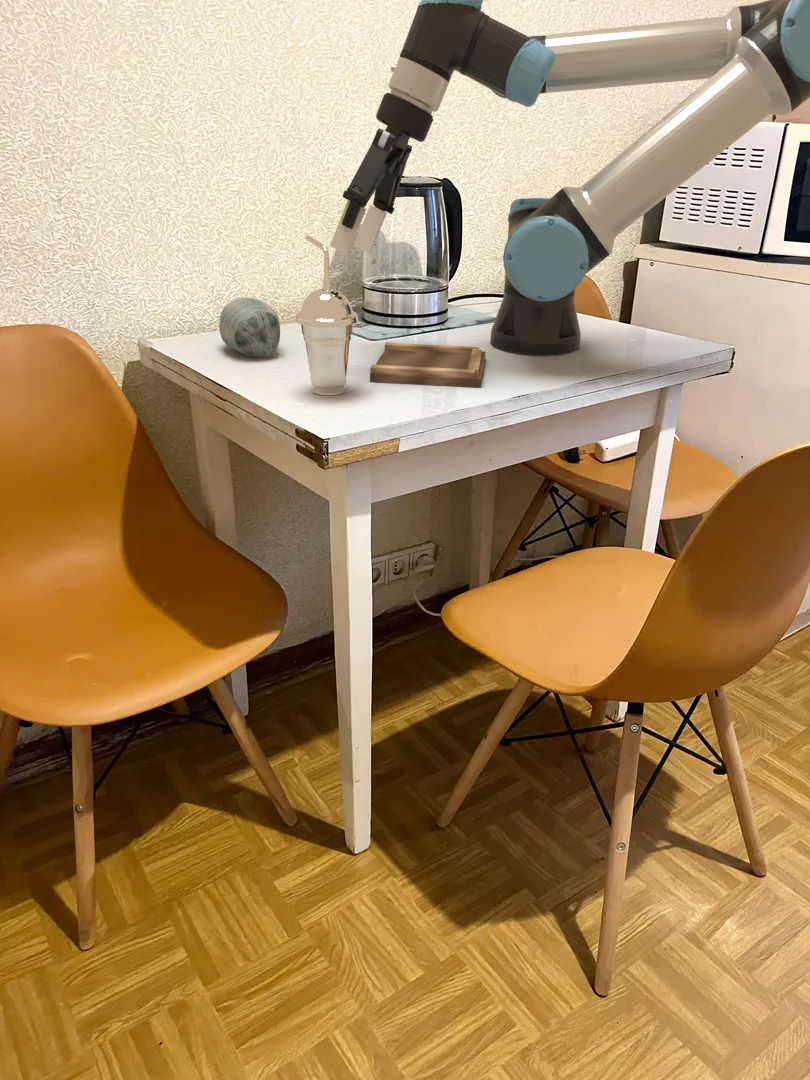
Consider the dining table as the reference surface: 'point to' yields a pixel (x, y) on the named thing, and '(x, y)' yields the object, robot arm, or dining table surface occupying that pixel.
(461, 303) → the dining table surface
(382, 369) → the brown flat square tray
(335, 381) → the cup with straw
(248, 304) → the spool
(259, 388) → the dining table surface
